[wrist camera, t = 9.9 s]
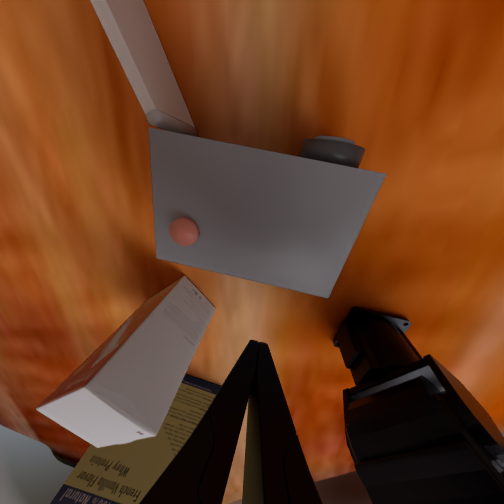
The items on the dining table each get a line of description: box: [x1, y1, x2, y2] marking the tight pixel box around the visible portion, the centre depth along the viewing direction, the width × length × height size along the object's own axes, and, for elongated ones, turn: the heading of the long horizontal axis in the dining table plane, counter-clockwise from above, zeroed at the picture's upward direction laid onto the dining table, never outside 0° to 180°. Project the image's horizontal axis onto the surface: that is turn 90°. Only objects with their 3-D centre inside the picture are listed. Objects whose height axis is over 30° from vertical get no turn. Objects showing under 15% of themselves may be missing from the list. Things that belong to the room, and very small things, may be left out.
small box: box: [36, 276, 215, 448], centre depth 19 cm, size 8×6×13 cm
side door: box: [90, 0, 198, 137], centre depth 12 cm, size 10×1×6 cm, turn 20°
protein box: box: [50, 374, 221, 504], centre depth 27 cm, size 10×16×16 cm
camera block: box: [149, 128, 386, 298], centre depth 15 cm, size 14×10×7 cm
